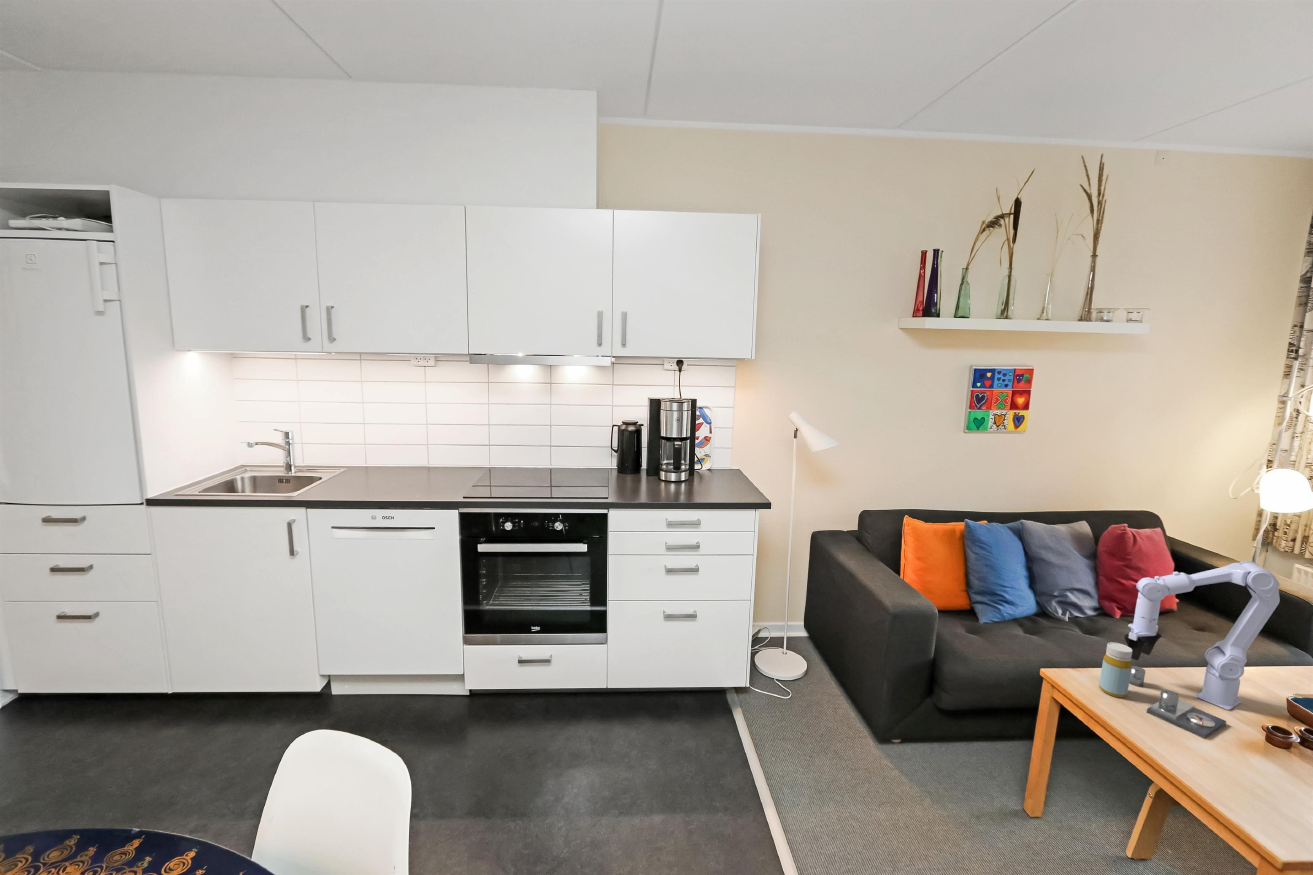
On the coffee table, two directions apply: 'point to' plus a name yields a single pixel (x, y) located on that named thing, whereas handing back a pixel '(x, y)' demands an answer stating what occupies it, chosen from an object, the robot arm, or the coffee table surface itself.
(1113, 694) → the bottle
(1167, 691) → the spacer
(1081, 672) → the coffee table surface
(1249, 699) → the coffee table surface
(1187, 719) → the scale
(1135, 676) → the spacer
